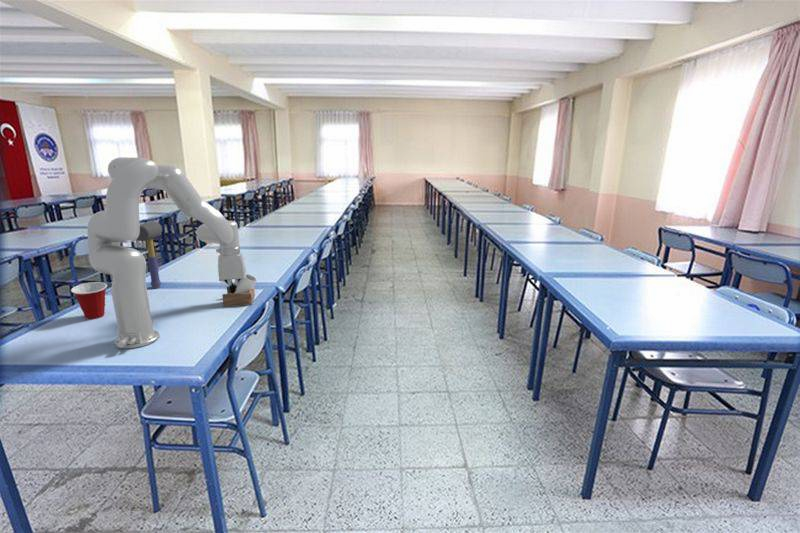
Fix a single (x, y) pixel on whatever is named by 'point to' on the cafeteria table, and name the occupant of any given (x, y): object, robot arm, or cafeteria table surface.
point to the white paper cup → (246, 284)
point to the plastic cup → (91, 298)
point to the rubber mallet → (151, 248)
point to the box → (238, 298)
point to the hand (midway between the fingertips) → (234, 293)
